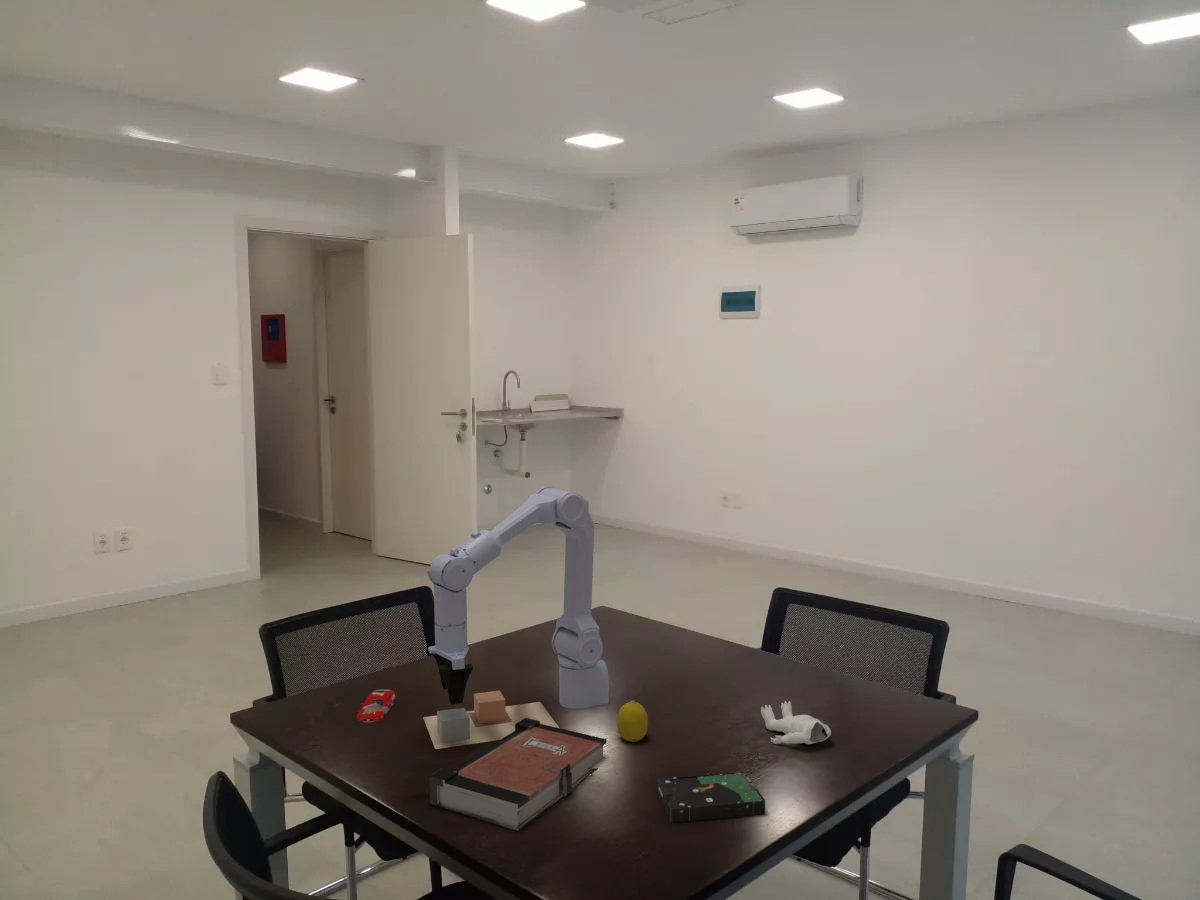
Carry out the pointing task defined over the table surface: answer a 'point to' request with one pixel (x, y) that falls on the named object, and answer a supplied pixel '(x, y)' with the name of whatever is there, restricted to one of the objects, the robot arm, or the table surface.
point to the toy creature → (795, 726)
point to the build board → (493, 725)
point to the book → (518, 774)
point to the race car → (376, 706)
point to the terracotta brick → (489, 707)
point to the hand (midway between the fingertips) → (452, 695)
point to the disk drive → (710, 797)
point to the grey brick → (453, 725)
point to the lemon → (632, 721)
